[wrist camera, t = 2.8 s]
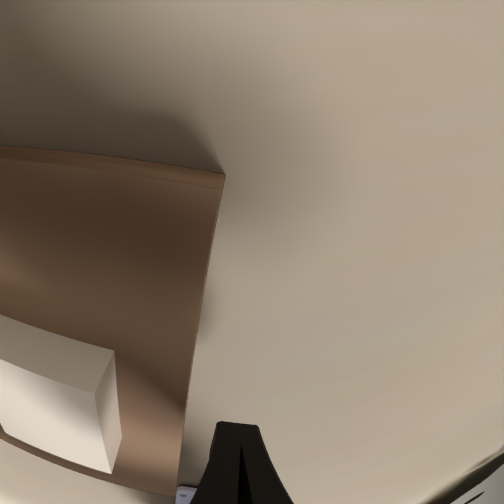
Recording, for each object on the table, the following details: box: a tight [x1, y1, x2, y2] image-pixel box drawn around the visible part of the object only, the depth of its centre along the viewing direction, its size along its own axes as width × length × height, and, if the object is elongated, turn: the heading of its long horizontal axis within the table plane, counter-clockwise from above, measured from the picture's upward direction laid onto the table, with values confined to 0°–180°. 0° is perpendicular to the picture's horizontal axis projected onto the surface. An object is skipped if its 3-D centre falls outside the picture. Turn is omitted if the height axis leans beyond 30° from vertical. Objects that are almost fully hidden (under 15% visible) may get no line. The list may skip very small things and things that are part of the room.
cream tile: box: [0, 314, 122, 474], centre depth 9 cm, size 5×5×2 cm
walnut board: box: [0, 146, 226, 497], centre depth 11 cm, size 16×15×3 cm
